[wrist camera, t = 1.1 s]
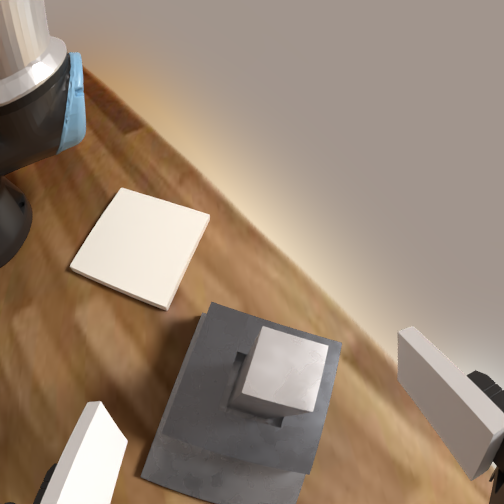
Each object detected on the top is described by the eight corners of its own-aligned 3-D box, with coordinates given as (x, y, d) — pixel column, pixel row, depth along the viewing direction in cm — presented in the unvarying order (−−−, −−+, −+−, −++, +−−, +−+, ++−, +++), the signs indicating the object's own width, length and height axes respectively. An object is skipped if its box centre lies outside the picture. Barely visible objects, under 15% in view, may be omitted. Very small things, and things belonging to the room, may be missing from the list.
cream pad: (72, 270, 36) (69, 266, 34) (122, 193, 43) (121, 187, 42) (167, 311, 35) (166, 307, 34) (209, 220, 42) (209, 214, 41)
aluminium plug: (226, 406, 29) (241, 392, 17) (238, 369, 32) (262, 325, 19) (266, 418, 29) (312, 412, 16) (278, 380, 31) (328, 345, 19)
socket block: (142, 475, 25) (131, 483, 20) (202, 315, 35) (202, 298, 31) (287, 516, 24) (301, 528, 20) (333, 356, 35) (350, 345, 30)
